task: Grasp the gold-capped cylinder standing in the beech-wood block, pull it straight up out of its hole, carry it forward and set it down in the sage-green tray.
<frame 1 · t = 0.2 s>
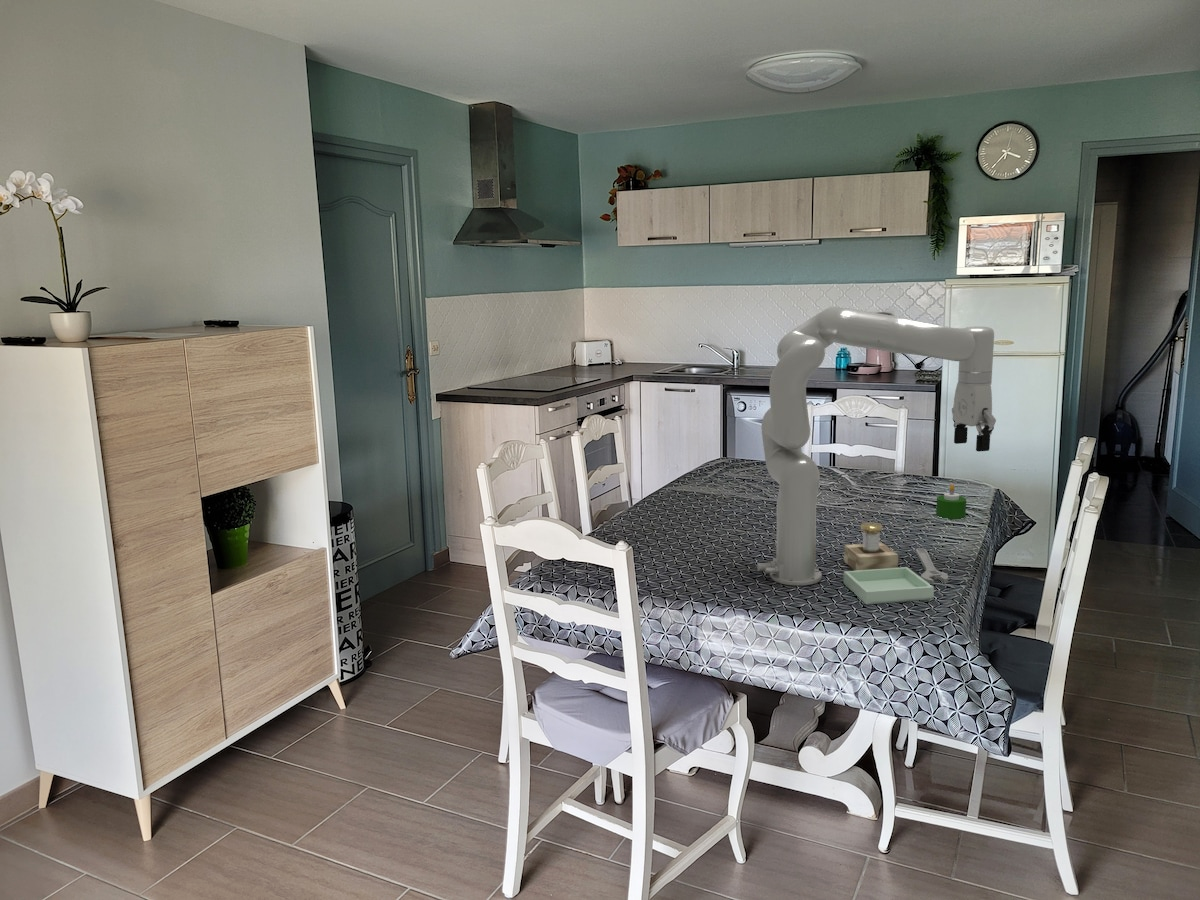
hand: (971, 446, 217), 31 cm above the table, tool pointing down, fingers open, 9 cm apart
gold-capped cylinder: (871, 546, 224), in the pin block
adjustable wrench: (931, 570, 223), on the table
candle: (950, 516, 266), on the table
tray: (887, 591, 208), on the table
pin block: (870, 566, 225), on the table
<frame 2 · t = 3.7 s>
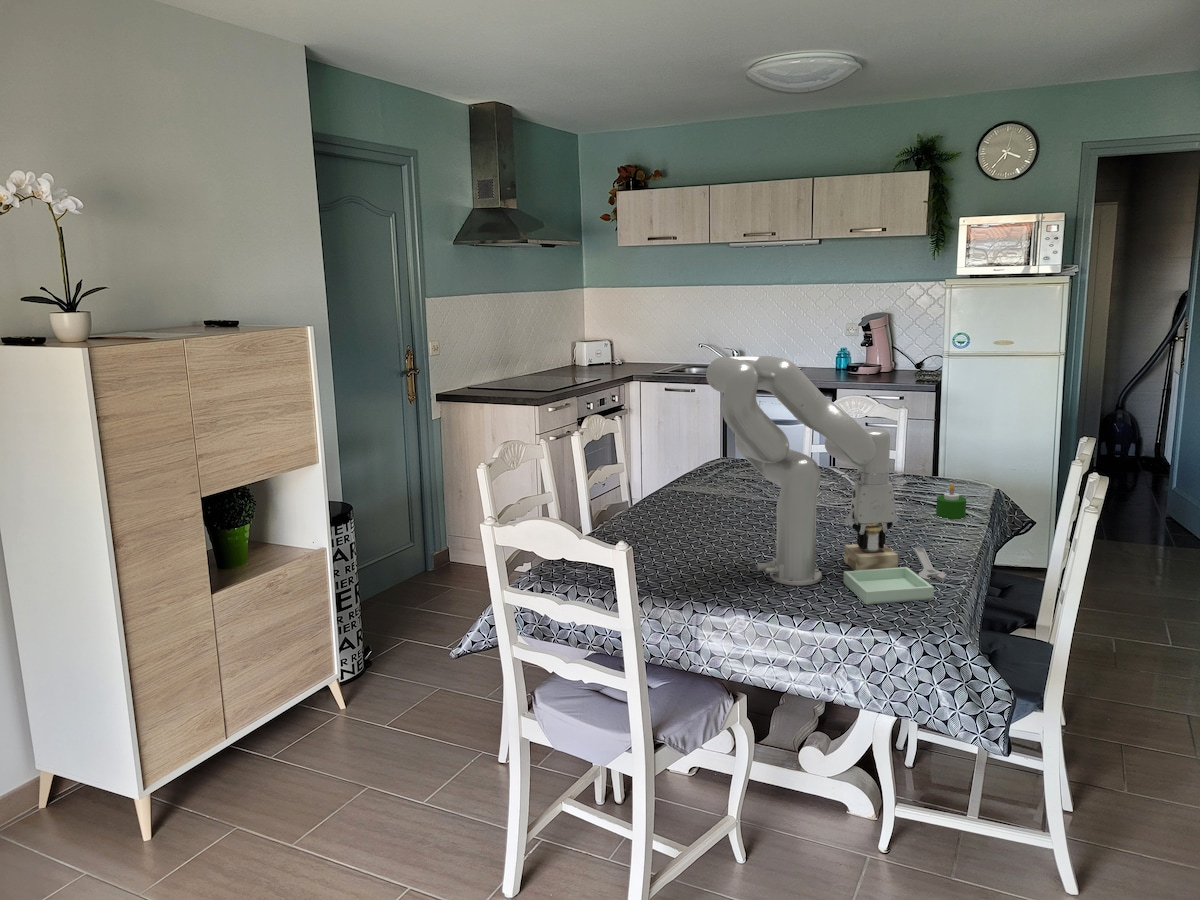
hand: (871, 546, 224), 5 cm above the table, tool pointing down, fingers closed on gold-capped cylinder, 4 cm apart
gold-capped cylinder: (871, 546, 224), in the pin block, touching gripper
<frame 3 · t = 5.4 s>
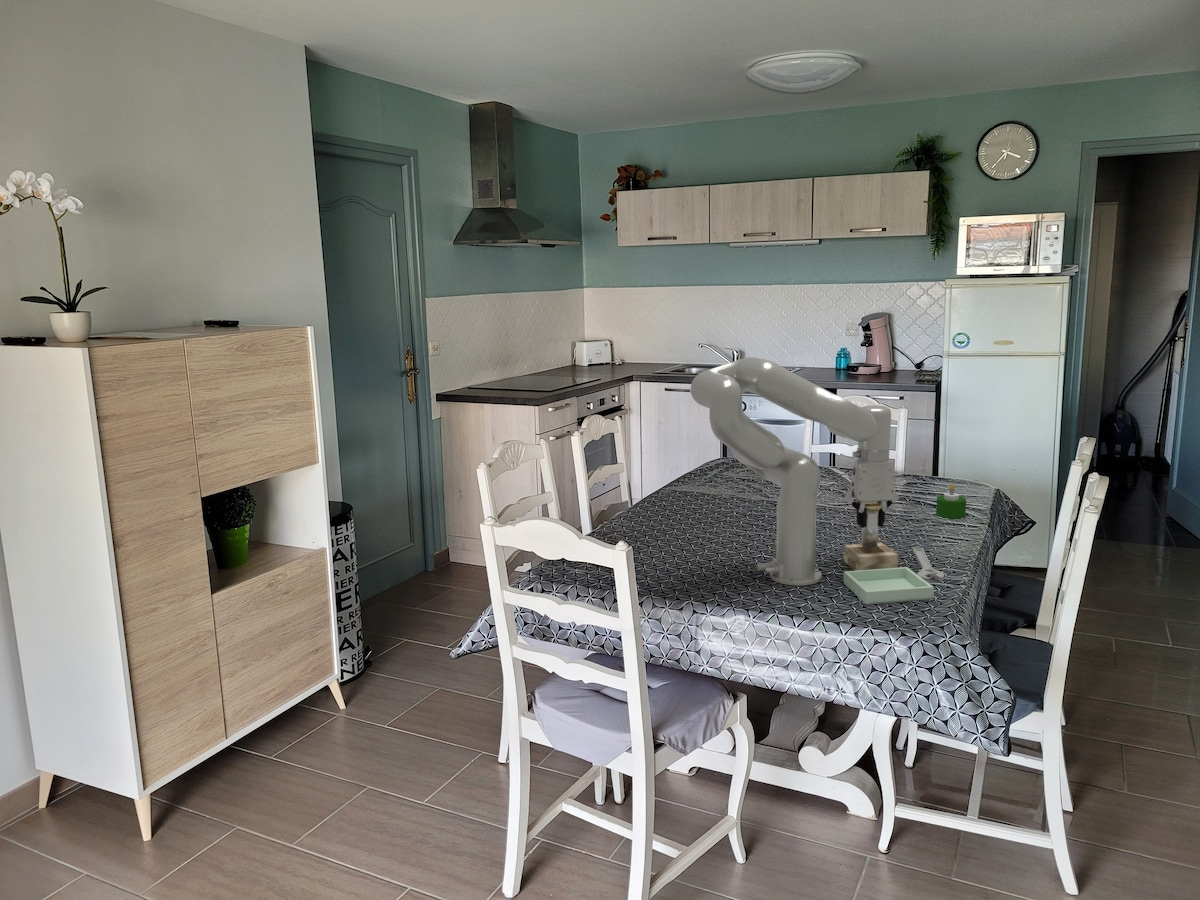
hand: (870, 525, 223), 11 cm above the table, tool pointing down, fingers closed on gold-capped cylinder, 4 cm apart
gold-capped cylinder: (870, 524, 222), point 11 cm above the table, touching gripper
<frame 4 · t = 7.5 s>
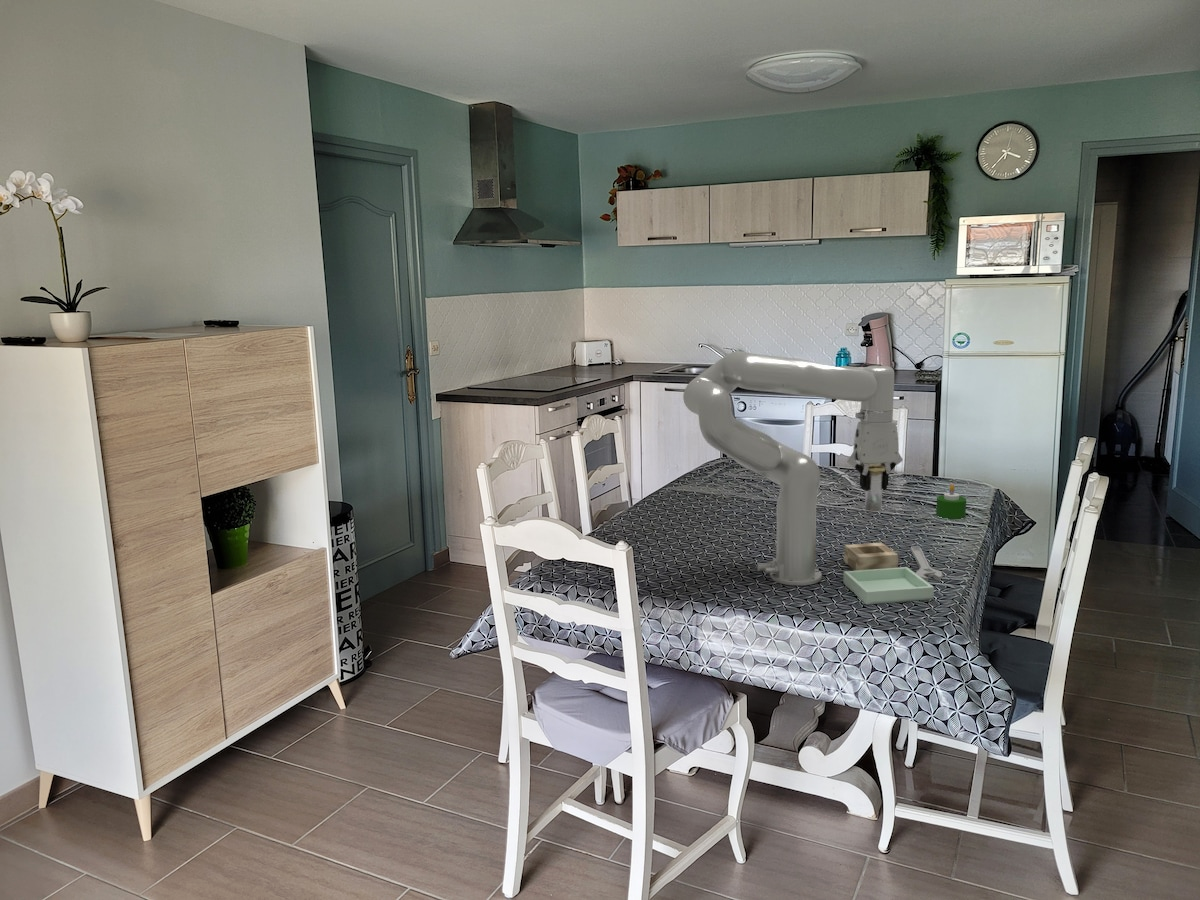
hand: (873, 488, 219), 21 cm above the table, tool pointing down, fingers closed on gold-capped cylinder, 4 cm apart
gold-capped cylinder: (873, 487, 219), point 21 cm above the table, touching gripper
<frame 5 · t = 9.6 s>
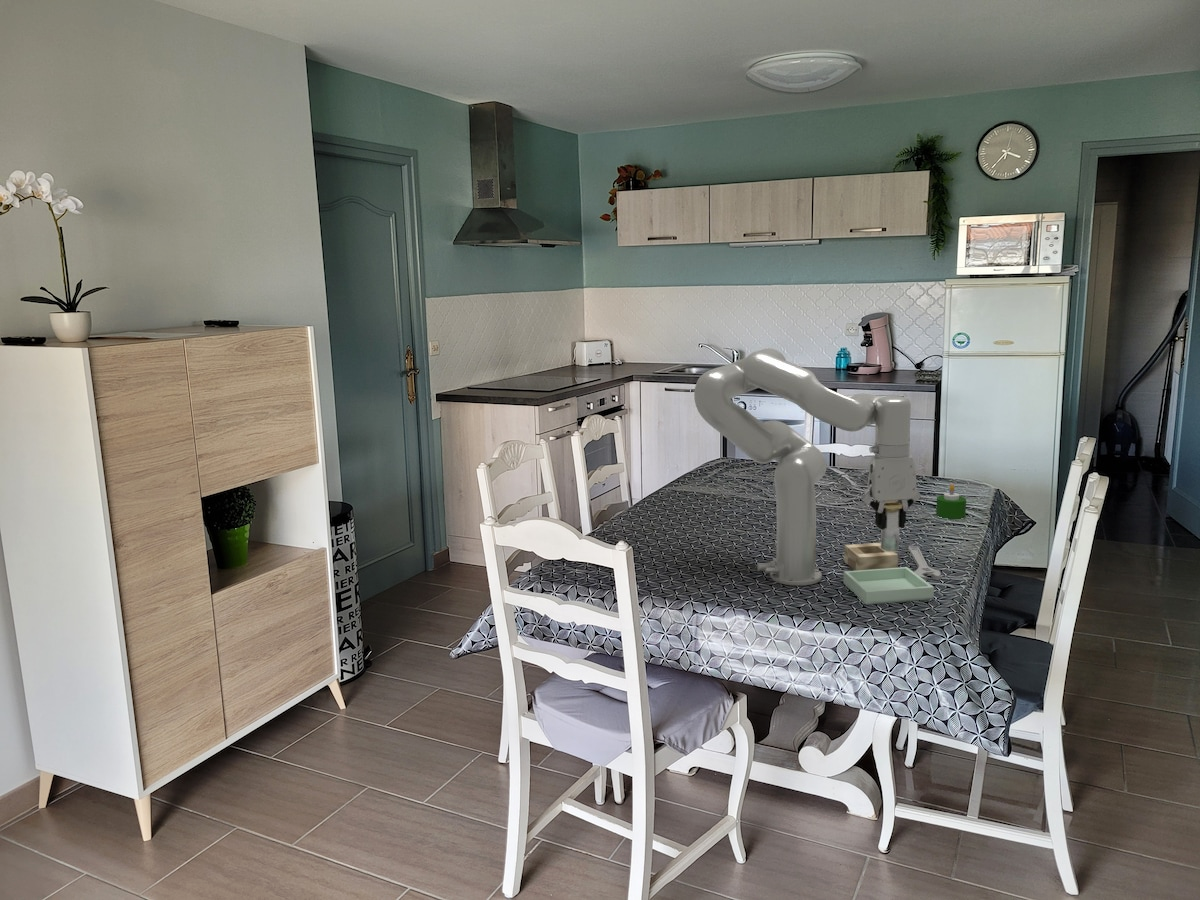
hand: (890, 526, 205), 16 cm above the table, tool pointing down, fingers closed on gold-capped cylinder, 4 cm apart
gold-capped cylinder: (890, 525, 205), point 16 cm above the table, touching gripper
when the fingers open (8 cm above the table, at t = 11.3 s): gold-capped cylinder drops 2 cm, resting on tray.
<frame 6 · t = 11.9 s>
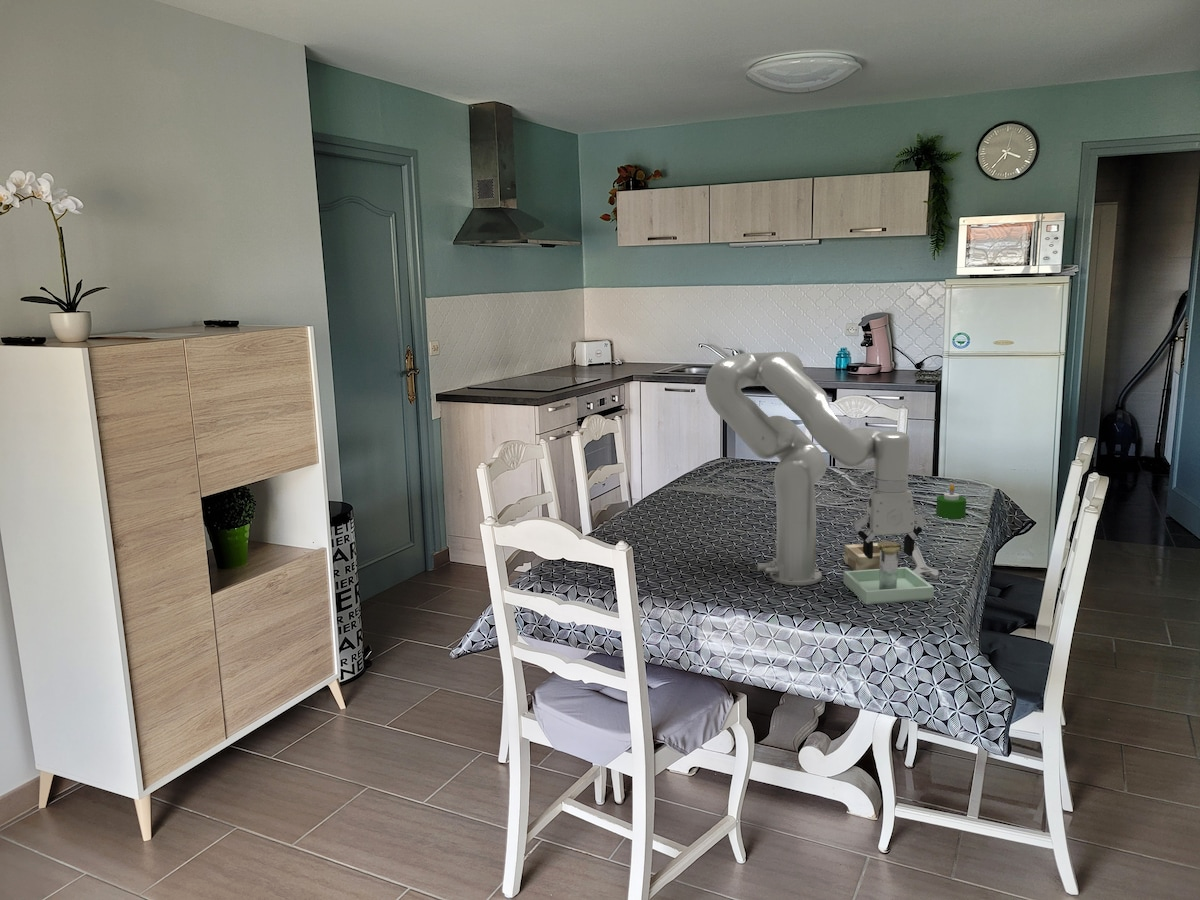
hand: (888, 555, 206), 9 cm above the table, tool pointing down, fingers open, 9 cm apart
gold-capped cylinder: (888, 566, 207), in the tray
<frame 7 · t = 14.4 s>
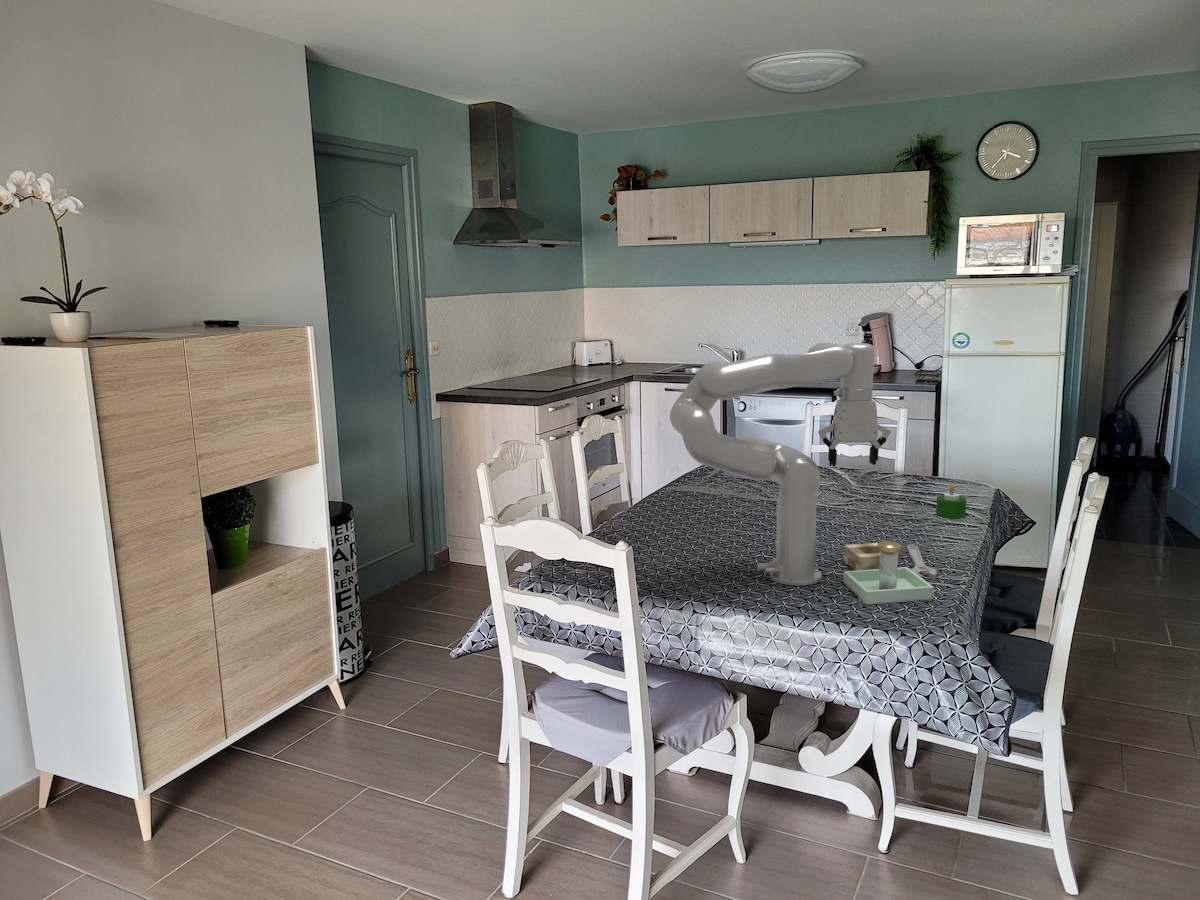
hand: (852, 464, 215), 28 cm above the table, tool pointing down, fingers open, 9 cm apart
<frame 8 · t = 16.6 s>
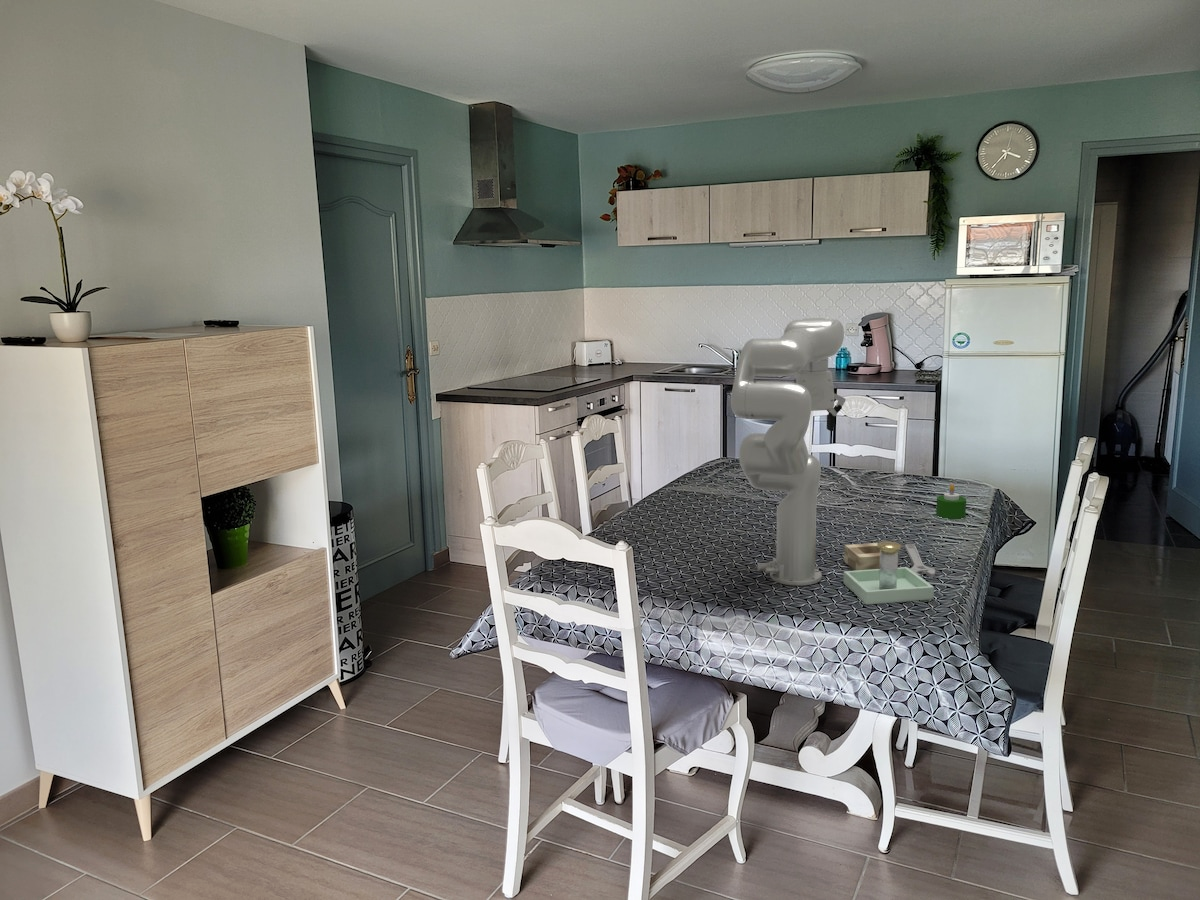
hand: (812, 431, 231), 33 cm above the table, tool pointing down, fingers open, 9 cm apart
at the end: gold-capped cylinder inside the target area on the tray (0.2 cm from its centre), point 6.0 cm above the tray's base; gold-capped cylinder moved 17.2 cm from its start; the gripper is holding nothing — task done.
